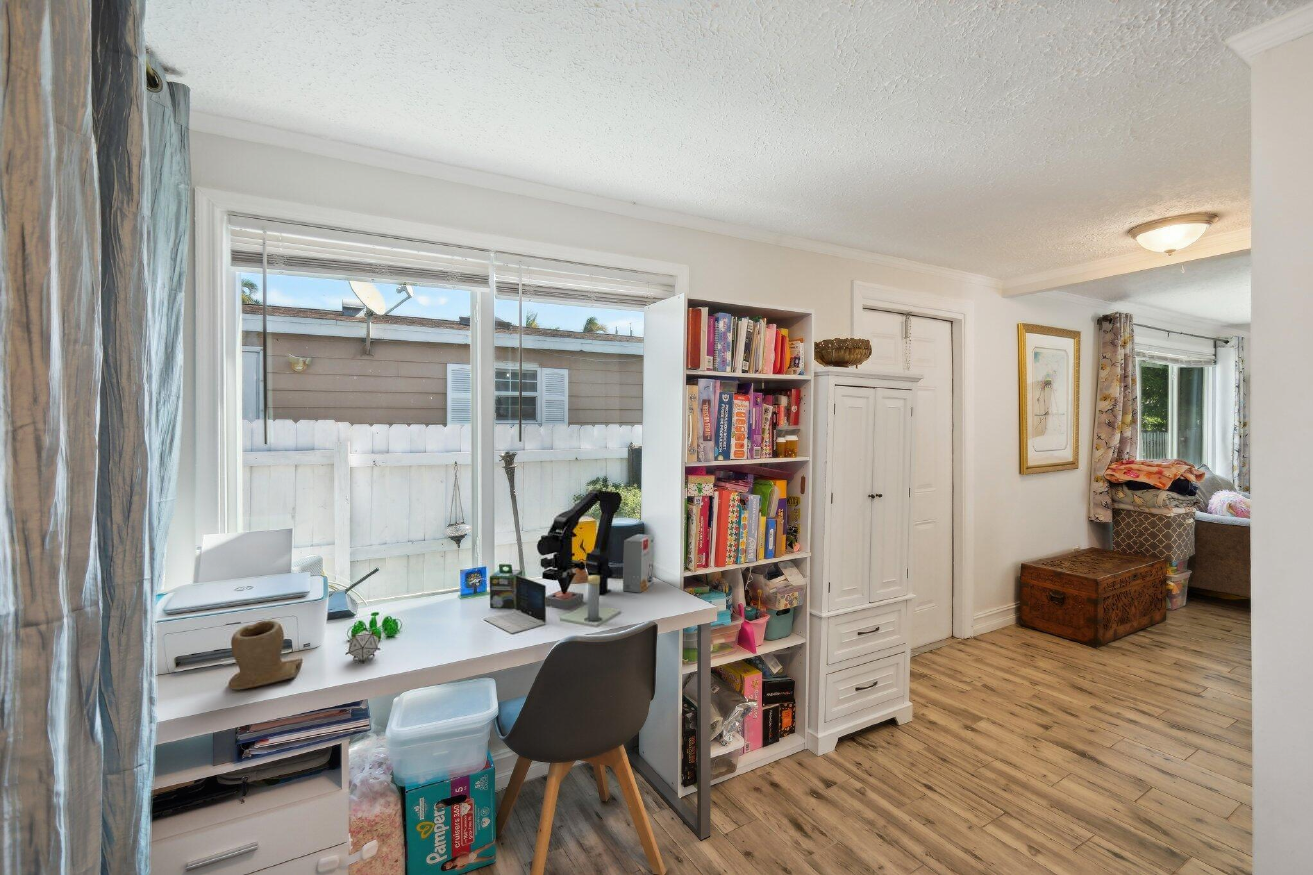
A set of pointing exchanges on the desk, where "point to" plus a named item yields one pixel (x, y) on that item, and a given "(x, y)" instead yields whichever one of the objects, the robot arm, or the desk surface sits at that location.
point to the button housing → (564, 601)
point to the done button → (564, 595)
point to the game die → (363, 645)
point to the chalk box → (503, 587)
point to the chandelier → (386, 624)
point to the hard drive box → (638, 563)
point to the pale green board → (582, 616)
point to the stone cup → (261, 656)
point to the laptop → (524, 608)
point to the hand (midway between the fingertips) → (564, 593)
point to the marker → (593, 597)
